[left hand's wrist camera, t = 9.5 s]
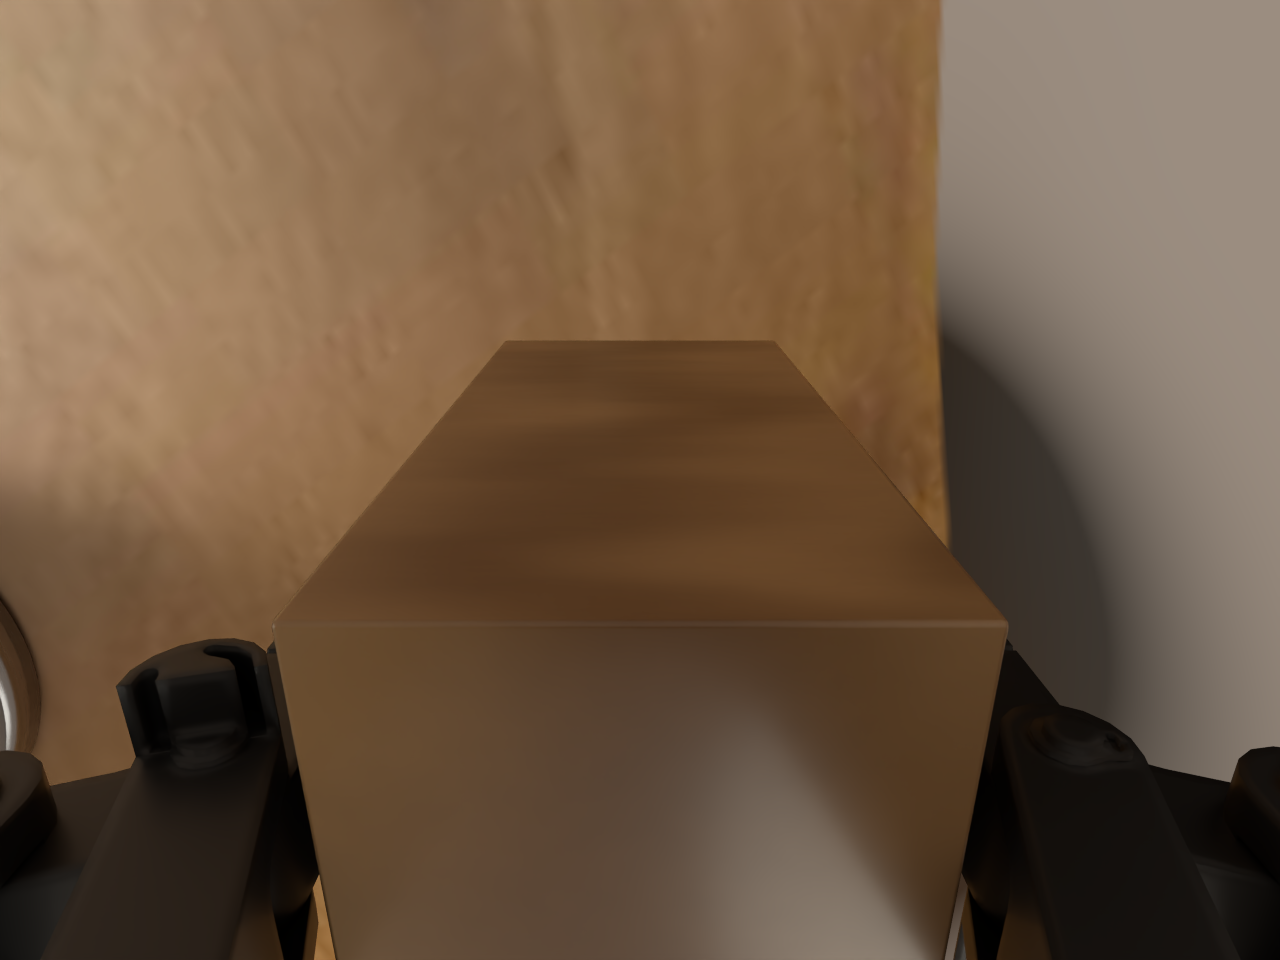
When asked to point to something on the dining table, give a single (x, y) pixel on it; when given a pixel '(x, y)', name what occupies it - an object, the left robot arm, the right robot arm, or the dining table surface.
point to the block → (640, 677)
